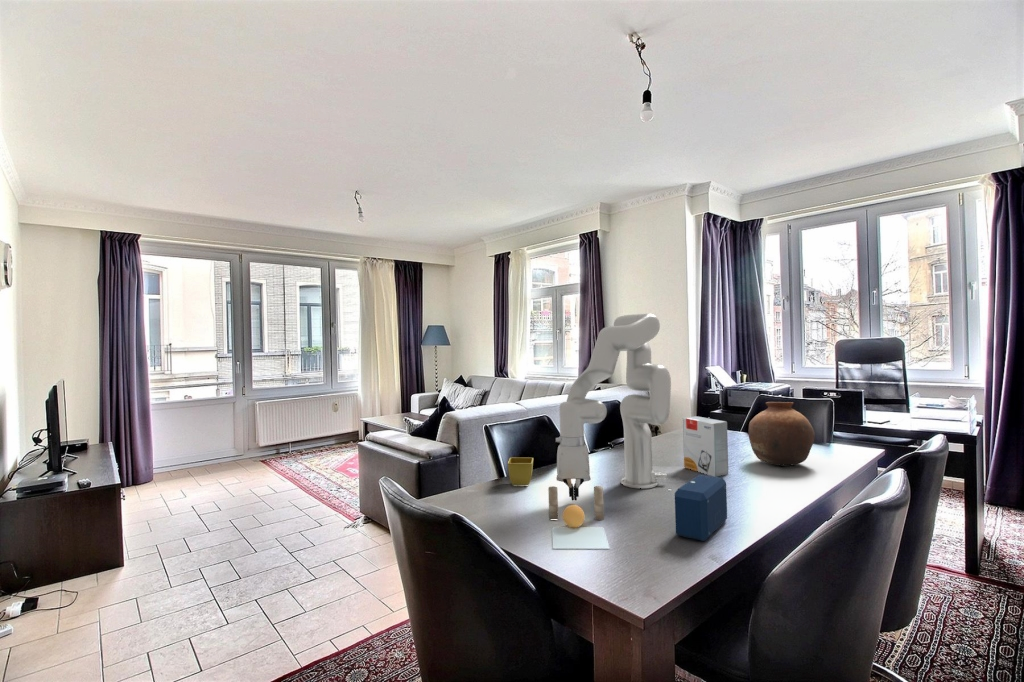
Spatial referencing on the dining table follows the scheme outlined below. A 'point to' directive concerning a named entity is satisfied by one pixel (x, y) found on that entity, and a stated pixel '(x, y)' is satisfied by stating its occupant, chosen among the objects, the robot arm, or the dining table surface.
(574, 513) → the ball
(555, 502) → the post
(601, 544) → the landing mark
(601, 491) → the post
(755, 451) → the pottery
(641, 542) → the dining table surface
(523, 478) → the flower pot
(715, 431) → the hard drive box
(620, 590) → the dining table surface
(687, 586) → the dining table surface
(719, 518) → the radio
